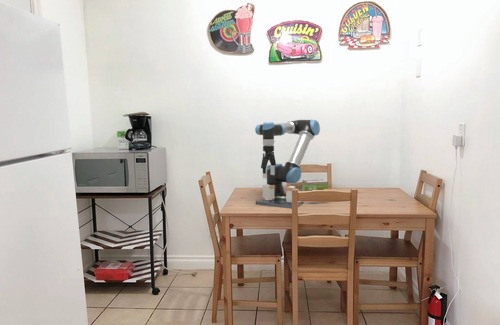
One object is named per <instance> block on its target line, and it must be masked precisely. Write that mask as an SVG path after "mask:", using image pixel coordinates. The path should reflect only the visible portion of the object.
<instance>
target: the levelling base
mask: <svg viewBox="0 0 500 325" xmlns="http://www.w3.org/2000/svg"><path fill="white" fill-rule="evenodd" d="M302 203H303V204H304V201H303V202H298V207H297V208H299V207H300V206H301V205H303V204H302ZM255 205H259V206H268V207H274V208H287V209H293V208H292V203H288V202H286V196H284V195H282V196H276V197H274V199H272V200H271V201H266V200H265V198H263V197H262V198H259V199H258V200H256V201H255Z"/></svg>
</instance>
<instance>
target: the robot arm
mask: <svg viewBox="0 0 500 325" xmlns="http://www.w3.org/2000/svg"><path fill="white" fill-rule="evenodd" d="M254 128H255V129H254V130H255V134H257V135H258V136H262V145H263V146H262V152H263V153H262V159H261V165H260V168H261V170H262V179H266V184H268V185H275V188H274V197H278V196H284V195H285V189H284V185H283V183H288V184H296V183H298V182H299V181H300V180H301V177H302V170H301V163H302V161H303V160H304V157H305V153H306V151H307V149H308V146H309V144H310V142H311V140H313V139H314V138H315V136H318V135H319V134H320V131H321V127H320V123H319V121H318V120H316V119H297V120H292V121H286V122H283V123H282V122H281V123H274V122H273V121H272V122H271V121H269V122H263V123H262V124H257V125H256V126H255V127H254ZM285 134H289V135H290V134H291V135H299V137H298V140H297V142H296V144H295V146H294V149H293V150H292V153H291V155H290V158H289V159H288V161H286V162H285V164H284V165H283V163H276V157H275V152H274V151H275V146H274V144H275V142H276V141H275V136H276V137H277V136H283V135H285ZM269 163H270V164H269Z"/></svg>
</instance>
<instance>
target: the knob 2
mask: <svg viewBox="0 0 500 325" xmlns="http://www.w3.org/2000/svg"><path fill="white" fill-rule="evenodd" d="M294 189H295V190H296V186H294V185H289V186H286V187H285V197H286V202H288V203H292V190H294Z"/></svg>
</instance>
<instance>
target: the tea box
mask: <svg viewBox="0 0 500 325" xmlns="http://www.w3.org/2000/svg"><path fill="white" fill-rule="evenodd" d="M301 186H302V187H301V192H302V191H312V190H324V189H328V190H329V181H327V180H324V179H321V178H320V179H319V178H318V179H303V180H302V185H301ZM305 203H306V204H319V203H323V202H305Z"/></svg>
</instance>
